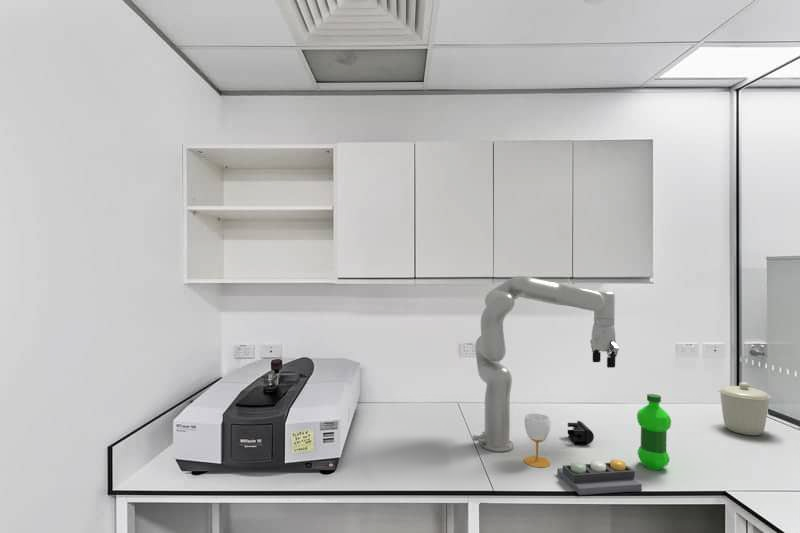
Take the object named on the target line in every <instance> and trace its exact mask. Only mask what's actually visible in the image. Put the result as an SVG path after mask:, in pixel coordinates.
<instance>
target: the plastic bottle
mask: <svg viewBox="0 0 800 533" xmlns="http://www.w3.org/2000/svg"><path fill="white" fill-rule="evenodd" d="M646 400H647V401H648V404H647V405H645V406H643V407H642V408H640V409H638V411H637V414H636V419H637V422H638V426H640V446H639V447H638V449H637V456H638V459H639V460H640V462H641V463H642V464H643V466H646V467H645V468H647V469H649V470H654V471H660V470H662V469H663V468H665V467H666V466H668V465H669V462H670V456H669V453H668V451H667V434H668V433H667V432H668V430H669V429H670V428H671V424H672V420H671V417H670V415H669V414H668V412H666V411H665V410H664V408H662V407H661V406H660V403H661V401H662V397H661V395H659V394H655V393H649V394H646Z"/></svg>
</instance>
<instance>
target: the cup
mask: <svg viewBox="0 0 800 533" xmlns="http://www.w3.org/2000/svg"><path fill="white" fill-rule="evenodd" d="M524 427H525V428H524V429H525V431H526V434H527V437H528V438H529V439H530V440H531V441H532V442H534V443H535V455H531V456H530V455H529V456H525V458H524V459H523V462H524V463H525V464H527V466H530V467H534V468H548V467H549V466H550V465H551V462H550V460H548V459H547V458H545V457H543V456H542V457H541V456H539V443H542V442H544V441H545V440H546V439H547V438H548V436H549V434H550V431H551V419H550V417H549V416H548V415H546V414H540V413H528V414H526V415H525V417H524Z"/></svg>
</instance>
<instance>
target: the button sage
mask: <svg viewBox="0 0 800 533" xmlns="http://www.w3.org/2000/svg"><path fill="white" fill-rule="evenodd" d="M585 464H586V463H582V462H579V461H572V462H570V465H571V471H572V472H573V473H574V474H582V473H586V465H585Z"/></svg>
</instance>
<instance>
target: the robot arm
mask: <svg viewBox="0 0 800 533" xmlns="http://www.w3.org/2000/svg"><path fill="white" fill-rule="evenodd" d="M615 297H616V296H615V293H614V292H612V291H608V290H607V291H606V290H602V291H601V290H600V291H599V290H598V291H594V290H589V289H584V288H580V287H575V286H570V285H567V284H563V283H560V282H559V283H558V282H553V281H550V280H545V279H540V278H536V277H532V276H531V277H530V276H526V275H525V276H523V275H516V276H513V277H511V278H510V279H508V280H506V281H505V282H503V283H501V284H499V286H498V285H497V287H495V288H493V289H492V290H490V291H489V292H488V293H486V296H485V298H484V303H485V308H484V309H483V311H482V314H481V317H480V336H478V338H477V339H476V342H475V347H474V348H475V349H474V350H475V357H476V364H477V366H476V367H477V372H478V376H479V377H480V379H481V380H482V382H484V383H485V384H486V388H485V394H484V431H482V432H481V433H482V434H480V435H472V436H471V437H472V441H473V442H474V441H477V443H479V445H480V446H481V448H483V449H485V450H488V451H491V452H497V453H498V452H500V453H502V452H504V453H505V452H509V451H512V450H513V448H514V442H513V441H512V440H510V428H511V427H510V426H511V425H510V423H511V422H510V421H511V420H510V417H511V415H510V414H511V409H510V407H511V405H510V404H511V402H510V400H511V390H512V385H513V377H512V373H511V372H510V370H509V369H508V368H507V367H506V366H504V365H502V364H501V362H500V361H502V360H503V359H504V358H505V356H506V352H507V351H506V342H505V334H504V320H505V318H506V316H507V315H508V314H509V313H510V312H511V311H513V309H514V307H515V301H516V300H517V299H519V298H522V299H523V298H524V299H527V300H532V301H537V302H541V303H547V304H551V305H557V306H564V307H565V306H566V307H572V308H578V309H581V310H585V311H590V312H591V311H592V312H593V325H592V330H591V339H590V340H589V343H590V348H591V353H592V363H601V352H603V353H606V354H607V357H606V367H607V368H611V369H612V368H616V358H617V355H618V352H619V350H620V348H619V347H618V345H617V344H616V340H617V339H616V330H615V329H616V328H615V310H616V309H615V306H616V305H615V304H616V303H615V302H616V301H615V299H616V298H615Z"/></svg>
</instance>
